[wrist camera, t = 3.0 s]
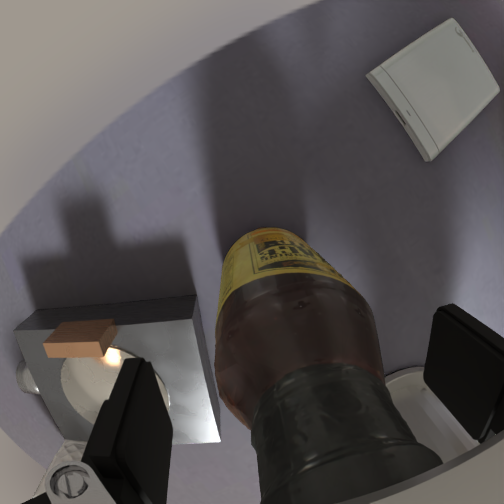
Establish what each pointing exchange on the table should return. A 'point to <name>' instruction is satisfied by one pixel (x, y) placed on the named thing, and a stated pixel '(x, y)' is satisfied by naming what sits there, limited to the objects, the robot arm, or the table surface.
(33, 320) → the block
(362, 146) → the table surface
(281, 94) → the table surface
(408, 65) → the hard drive
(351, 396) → the sauce bottle
